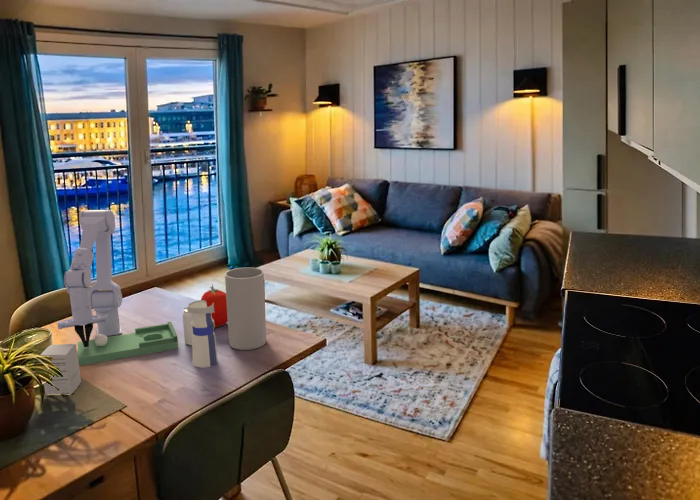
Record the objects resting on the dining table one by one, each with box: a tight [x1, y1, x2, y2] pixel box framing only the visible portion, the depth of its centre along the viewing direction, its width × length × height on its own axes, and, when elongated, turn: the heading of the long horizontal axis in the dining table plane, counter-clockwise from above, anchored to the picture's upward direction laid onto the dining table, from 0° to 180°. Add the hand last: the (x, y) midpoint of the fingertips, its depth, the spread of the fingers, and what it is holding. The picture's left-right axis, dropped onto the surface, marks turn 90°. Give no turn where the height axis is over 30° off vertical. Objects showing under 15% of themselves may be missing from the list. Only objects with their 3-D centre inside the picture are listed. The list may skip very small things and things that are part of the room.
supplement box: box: [40, 343, 82, 395], centre depth 159 cm, size 7×7×13 cm
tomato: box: [200, 288, 228, 328], centre depth 205 cm, size 13×11×14 cm
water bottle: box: [186, 283, 219, 369], centre depth 175 cm, size 8×9×25 cm
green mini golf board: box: [77, 321, 179, 367], centre depth 187 cm, size 14×30×4 cm, turn 115°
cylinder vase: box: [224, 267, 267, 351], centre depth 188 cm, size 12×12×25 cm
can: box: [182, 306, 193, 346], centre depth 191 cm, size 6×6×12 cm
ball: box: [94, 334, 108, 347], centre depth 183 cm, size 4×4×4 cm
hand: (86, 345), depth 181 cm, fingers closed
